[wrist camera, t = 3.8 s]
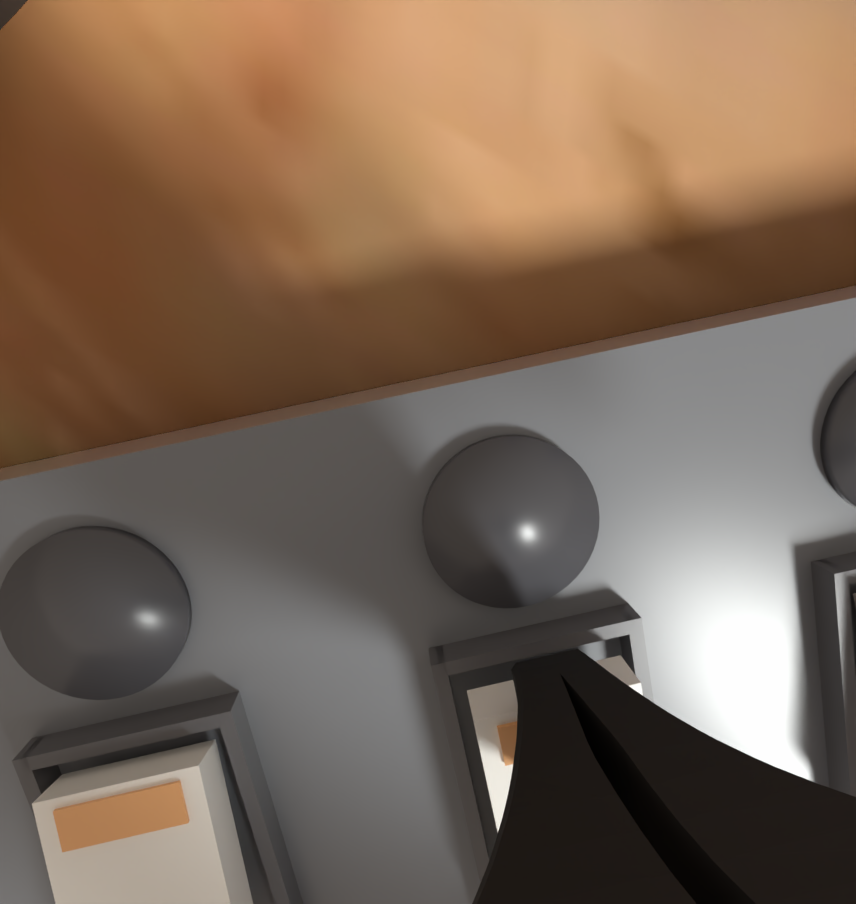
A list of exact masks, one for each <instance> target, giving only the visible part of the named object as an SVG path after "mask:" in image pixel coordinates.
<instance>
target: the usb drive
mask: <svg viewBox="0 0 856 904" xmlns="http://www.w3.org/2000/svg"><path fill="white" fill-rule="evenodd" d="M26 1H27V0H0V30H1V29H2V27H3V26H4V25H5V24H6V23H7V22H8V21H9V20H10V19H11V18H12V17H13V16H14V15H15V14H16V13H17V11H18V10H19V9H20V8H21V7H22V6H23V5H24V4H25V2H26Z"/></svg>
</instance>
